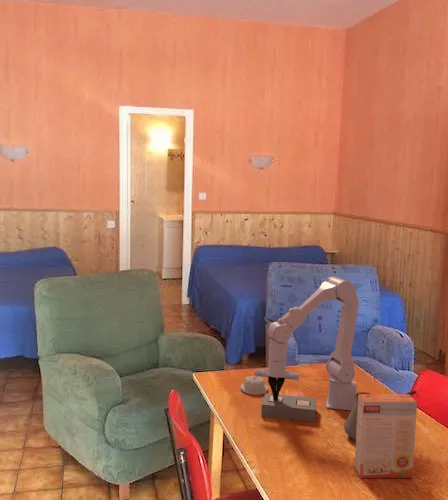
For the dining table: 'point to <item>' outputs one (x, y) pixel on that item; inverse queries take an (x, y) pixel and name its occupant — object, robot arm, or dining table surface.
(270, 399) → the greyish pink cube
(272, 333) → the robot arm
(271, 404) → the block
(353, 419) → the coffee pot
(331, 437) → the dining table surface
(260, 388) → the mechanical component
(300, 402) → the pink matte cube
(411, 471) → the cracker box
